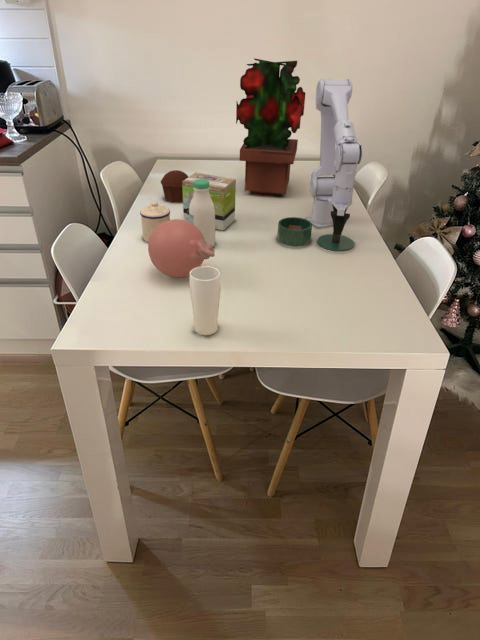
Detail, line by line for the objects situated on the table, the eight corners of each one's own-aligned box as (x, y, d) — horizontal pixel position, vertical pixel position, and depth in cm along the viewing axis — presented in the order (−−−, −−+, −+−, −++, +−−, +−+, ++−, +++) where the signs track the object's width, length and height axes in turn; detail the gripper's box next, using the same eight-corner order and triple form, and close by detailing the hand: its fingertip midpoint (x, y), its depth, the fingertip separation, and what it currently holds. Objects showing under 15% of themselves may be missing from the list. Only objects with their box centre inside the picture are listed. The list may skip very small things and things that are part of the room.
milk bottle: (218, 241, 153) (218, 178, 142) (209, 252, 147) (208, 187, 136) (196, 238, 155) (194, 175, 144) (186, 248, 149) (183, 183, 138)
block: (288, 236, 157) (289, 224, 154) (300, 237, 156) (301, 225, 154) (286, 241, 153) (287, 229, 151) (299, 242, 153) (300, 231, 151)
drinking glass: (203, 318, 118) (202, 262, 109) (226, 328, 115) (226, 271, 106) (185, 331, 113) (182, 274, 105) (208, 342, 110) (207, 283, 101)
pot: (311, 235, 158) (313, 218, 155) (309, 249, 150) (311, 232, 147) (279, 232, 160) (280, 215, 157) (275, 246, 151) (276, 228, 148)
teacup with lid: (167, 245, 150) (164, 209, 144) (138, 242, 151) (134, 206, 145) (177, 229, 160) (175, 195, 154) (150, 227, 161) (147, 192, 155)
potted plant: (234, 197, 185) (237, 64, 160) (244, 179, 203) (247, 57, 178) (293, 202, 183) (305, 67, 157) (297, 183, 201) (308, 59, 175)
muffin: (190, 204, 179) (189, 177, 173) (159, 203, 178) (157, 176, 173) (193, 193, 188) (192, 167, 183) (164, 192, 188) (162, 166, 183)
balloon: (193, 299, 124) (191, 244, 116) (138, 275, 134) (133, 222, 126) (230, 277, 135) (231, 224, 126) (177, 256, 145) (174, 206, 136)
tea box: (182, 223, 164) (180, 180, 156) (196, 213, 172) (195, 171, 164) (224, 231, 160) (224, 187, 151) (235, 220, 167) (236, 177, 159)
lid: (353, 239, 157) (355, 226, 155) (353, 254, 148) (356, 241, 145) (317, 235, 159) (319, 223, 156) (315, 251, 149) (317, 238, 147)
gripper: (330, 177, 149) (325, 219, 157) (329, 193, 137) (323, 237, 145) (354, 178, 148) (347, 221, 156) (354, 195, 136) (347, 240, 144)
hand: (337, 229), depth 150 cm, fingers open, 7 cm apart
